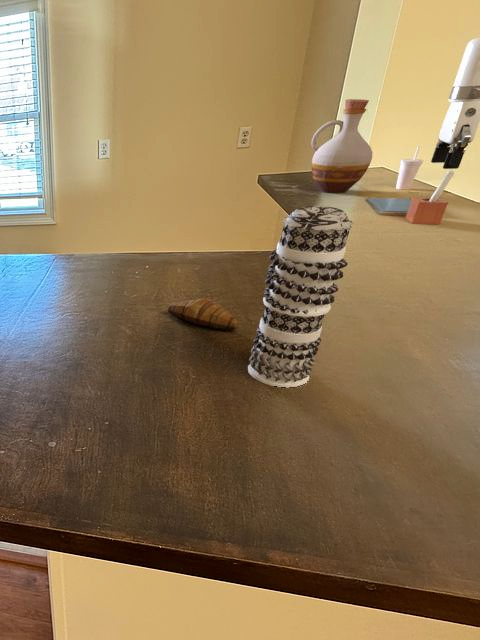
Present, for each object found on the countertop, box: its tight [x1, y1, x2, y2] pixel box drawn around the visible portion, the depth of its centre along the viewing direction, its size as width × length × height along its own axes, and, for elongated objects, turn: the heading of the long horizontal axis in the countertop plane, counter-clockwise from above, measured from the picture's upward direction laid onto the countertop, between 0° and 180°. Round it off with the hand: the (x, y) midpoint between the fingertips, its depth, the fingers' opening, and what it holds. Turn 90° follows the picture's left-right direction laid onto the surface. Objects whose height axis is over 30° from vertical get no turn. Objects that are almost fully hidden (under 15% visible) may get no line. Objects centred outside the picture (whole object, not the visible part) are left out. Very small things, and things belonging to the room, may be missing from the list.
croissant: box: [167, 297, 239, 331], centre depth 90 cm, size 14×7×5 cm, turn 43°
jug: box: [311, 98, 373, 194], centre depth 170 cm, size 20×18×30 cm
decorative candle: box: [247, 205, 355, 389], centre depth 68 cm, size 9×9×25 cm
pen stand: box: [405, 196, 449, 225], centre depth 136 cm, size 6×6×6 cm
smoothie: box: [395, 146, 424, 191], centre depth 169 cm, size 6×6×14 cm
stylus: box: [429, 170, 455, 201], centre depth 134 cm, size 2×2×14 cm
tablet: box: [364, 197, 412, 216], centre depth 151 cm, size 14×20×1 cm
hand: (444, 165), depth 130 cm, fingers open, 9 cm apart
